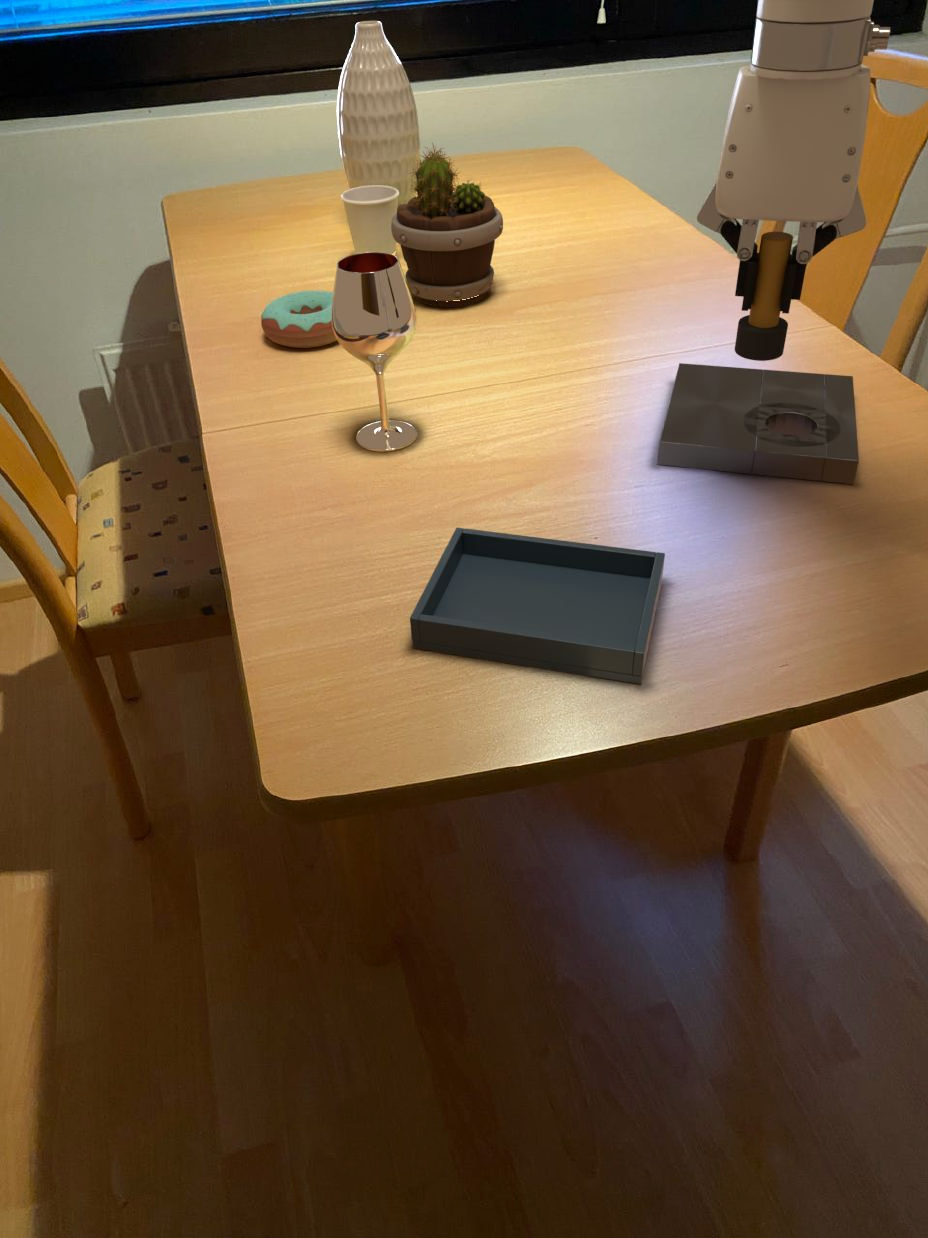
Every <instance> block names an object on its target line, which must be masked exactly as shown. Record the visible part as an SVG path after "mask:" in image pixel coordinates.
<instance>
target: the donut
mask: <svg viewBox="0 0 928 1238" xmlns="http://www.w3.org/2000/svg"><path fill="white" fill-rule="evenodd" d="M332 298H333V291H329V290H328V291H326V290H301V291H297V292H292V293H287V294H284V295H282V296H280V297H277V298H275V299H274V300H272V301H270V302H269V303H267V305H265V307H264V309H263V311H262V313H261V315H260V316H261V317H260V324H261V325H260V326H261V328H262V331H263V332H264V333H265V335H266V338H268V339H269V340H271V341H272V342H273V343H275V344H278V345H281V346H283V347H288V348H295V349H310V348H319V347H322V346H327V345H330V344H333V343H335V342H338V341H337V339H336V337H335V335H334V333H333V330H332V325H331V309H332Z"/></svg>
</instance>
